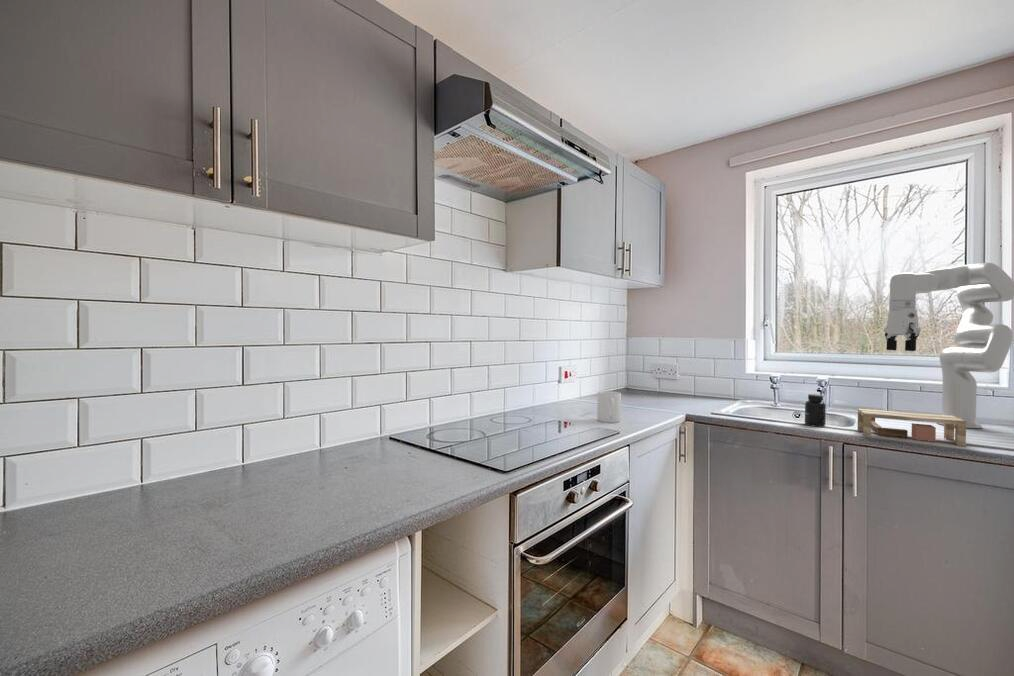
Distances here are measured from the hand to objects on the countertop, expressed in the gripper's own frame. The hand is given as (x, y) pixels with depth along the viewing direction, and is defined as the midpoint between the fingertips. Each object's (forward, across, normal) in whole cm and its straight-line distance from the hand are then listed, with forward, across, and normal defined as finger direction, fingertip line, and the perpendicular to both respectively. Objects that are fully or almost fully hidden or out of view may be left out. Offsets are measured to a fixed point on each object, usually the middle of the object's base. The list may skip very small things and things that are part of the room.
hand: (900, 350), depth 166 cm
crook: (+31, 0, +5) cm, 31 cm away
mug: (+33, -5, +108) cm, 113 cm away
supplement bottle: (+31, +4, +27) cm, 41 cm away
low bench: (+31, -14, +6) cm, 34 cm away
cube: (+31, -16, +2) cm, 35 cm away
